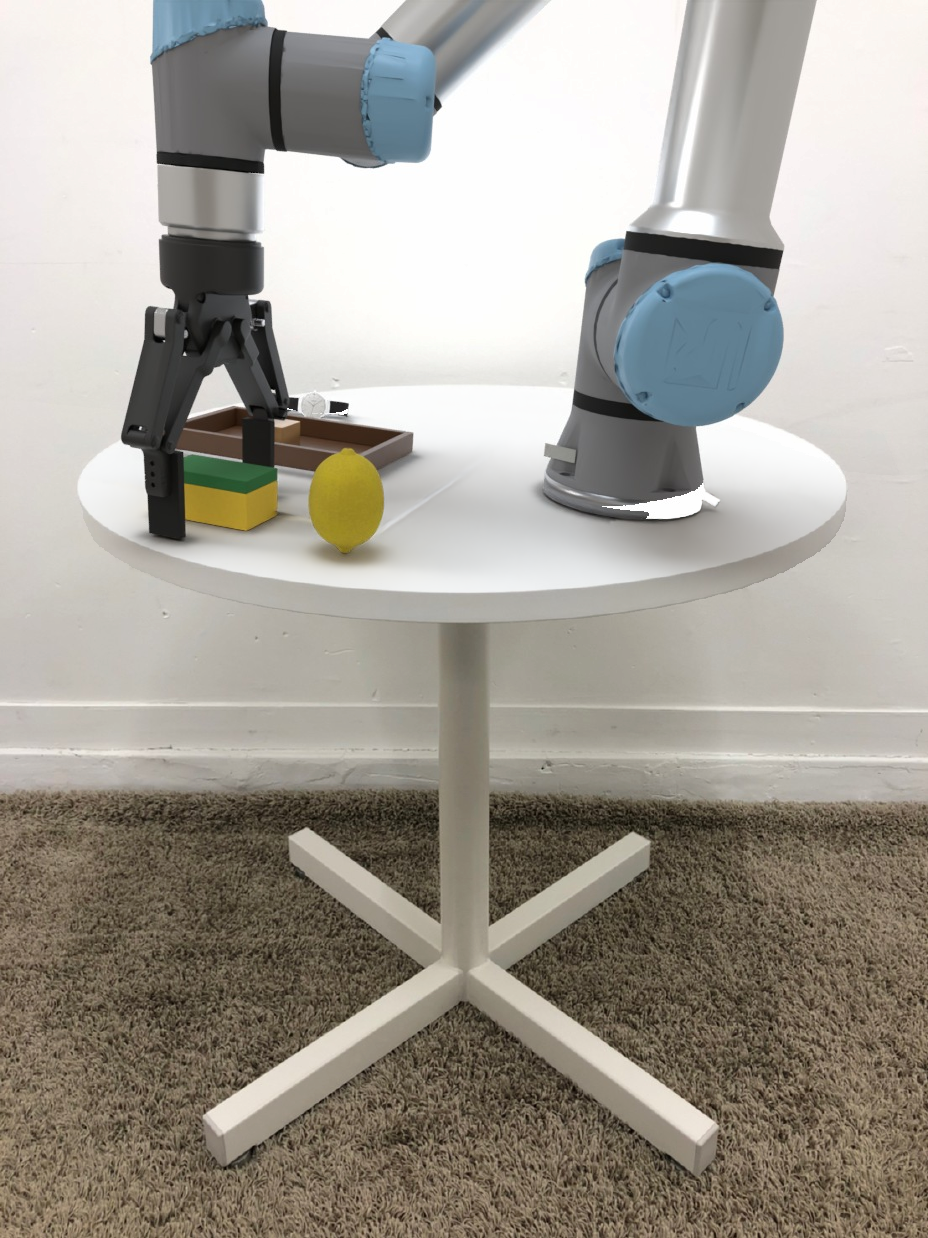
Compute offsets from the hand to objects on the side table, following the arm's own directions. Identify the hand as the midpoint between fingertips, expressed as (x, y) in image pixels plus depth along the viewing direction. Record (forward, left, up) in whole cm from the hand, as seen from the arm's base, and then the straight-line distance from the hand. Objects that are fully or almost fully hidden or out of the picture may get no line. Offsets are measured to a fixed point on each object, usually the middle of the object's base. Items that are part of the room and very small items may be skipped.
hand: (216, 513), depth 79 cm
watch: (+11, -40, 0) cm, 42 cm away
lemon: (-13, +3, 0) cm, 13 cm away
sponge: (0, 0, 0) cm, 0 cm away
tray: (+5, -22, 0) cm, 23 cm away
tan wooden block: (+7, -22, 0) cm, 23 cm away
